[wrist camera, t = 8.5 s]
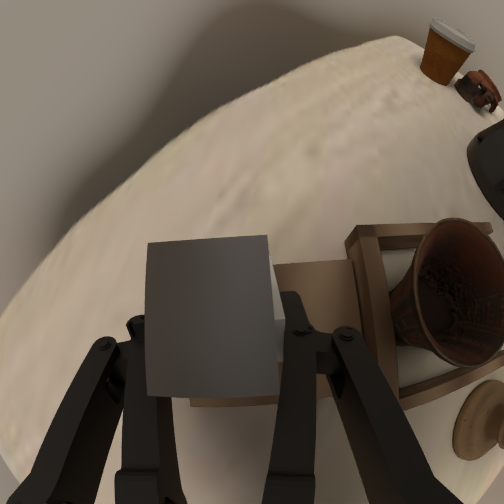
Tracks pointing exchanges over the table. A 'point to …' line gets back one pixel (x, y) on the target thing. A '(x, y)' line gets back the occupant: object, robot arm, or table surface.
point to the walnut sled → (270, 316)
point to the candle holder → (480, 421)
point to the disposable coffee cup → (445, 51)
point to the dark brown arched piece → (480, 96)
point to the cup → (452, 295)
